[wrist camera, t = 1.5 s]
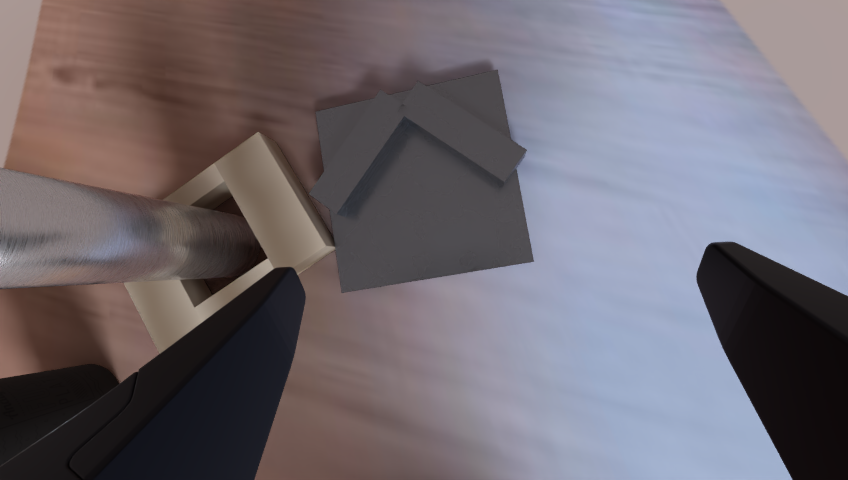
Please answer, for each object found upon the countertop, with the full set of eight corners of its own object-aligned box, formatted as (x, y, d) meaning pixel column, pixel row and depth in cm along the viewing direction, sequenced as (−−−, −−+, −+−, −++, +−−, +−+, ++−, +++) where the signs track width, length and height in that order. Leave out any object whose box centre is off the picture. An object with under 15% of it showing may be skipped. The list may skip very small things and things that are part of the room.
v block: (540, 260, 22) (547, 259, 20) (339, 293, 24) (323, 296, 22) (505, 75, 23) (508, 53, 21) (314, 119, 25) (296, 103, 22)
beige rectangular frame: (275, 142, 25) (258, 131, 23) (338, 247, 24) (326, 245, 22) (131, 244, 26) (103, 242, 24) (185, 348, 25) (160, 356, 23)
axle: (236, 289, 25) (-187, 333, 9) (191, 253, 26) (-277, 235, 10) (272, 237, 25) (-97, 192, 9) (225, 202, 25) (-194, 102, 10)
